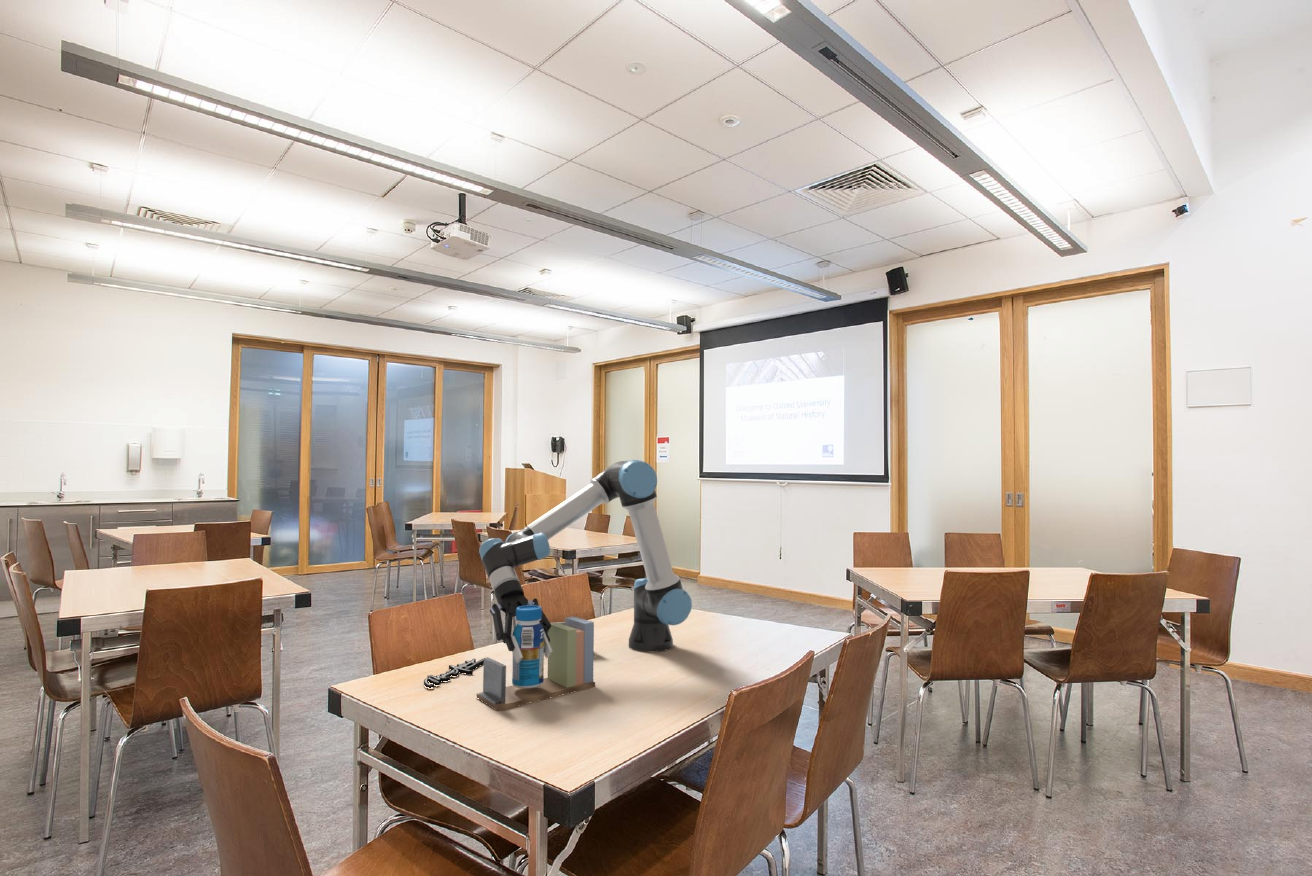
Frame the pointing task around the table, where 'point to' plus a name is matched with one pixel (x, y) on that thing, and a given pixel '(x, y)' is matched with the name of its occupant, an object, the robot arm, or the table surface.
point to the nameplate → (453, 672)
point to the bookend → (494, 681)
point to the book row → (571, 652)
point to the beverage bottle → (529, 647)
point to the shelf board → (534, 693)
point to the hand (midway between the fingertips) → (534, 657)
